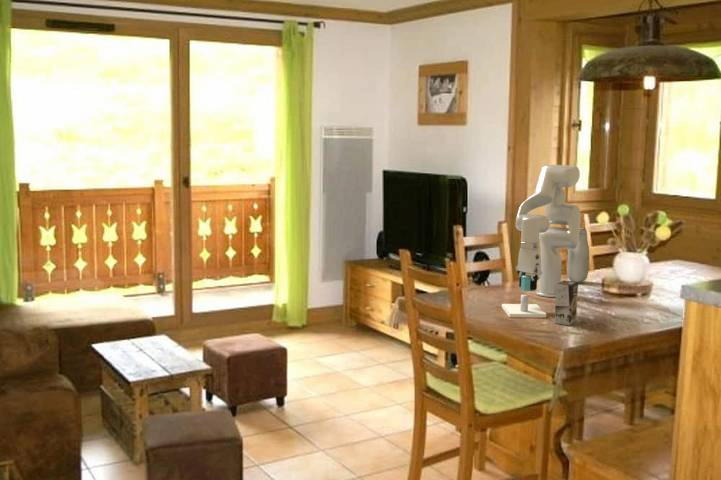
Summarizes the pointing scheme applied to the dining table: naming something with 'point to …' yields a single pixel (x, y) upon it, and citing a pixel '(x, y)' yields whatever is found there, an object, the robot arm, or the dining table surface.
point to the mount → (524, 309)
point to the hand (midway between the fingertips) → (527, 287)
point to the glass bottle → (579, 259)
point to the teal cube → (526, 283)
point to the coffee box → (566, 302)
